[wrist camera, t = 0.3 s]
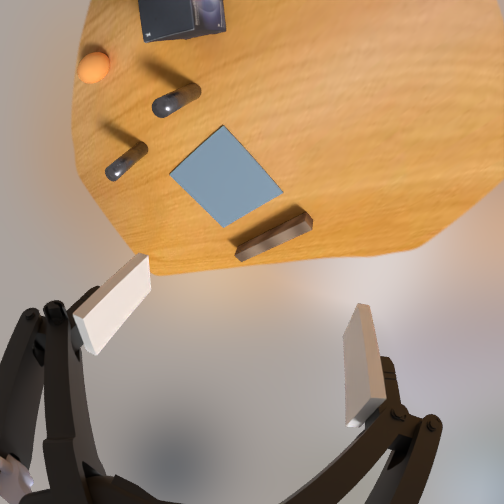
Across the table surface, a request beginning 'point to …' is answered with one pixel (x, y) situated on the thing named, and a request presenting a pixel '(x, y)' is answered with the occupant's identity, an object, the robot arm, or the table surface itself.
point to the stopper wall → (275, 237)
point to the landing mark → (225, 178)
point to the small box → (180, 19)
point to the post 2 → (175, 100)
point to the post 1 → (126, 161)
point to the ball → (93, 67)
